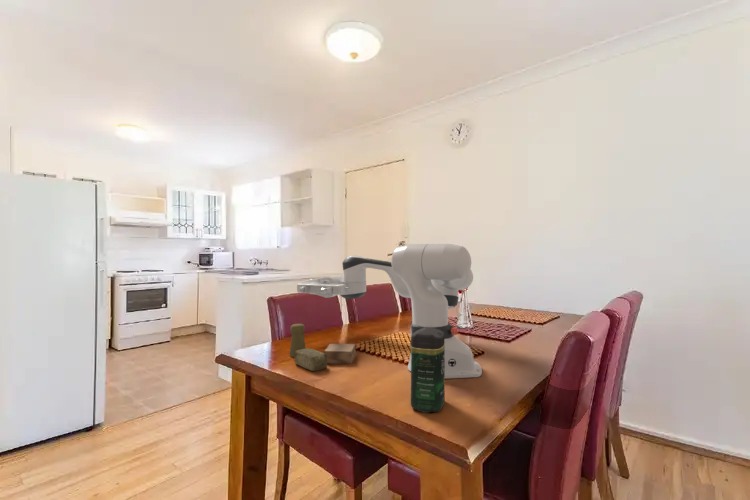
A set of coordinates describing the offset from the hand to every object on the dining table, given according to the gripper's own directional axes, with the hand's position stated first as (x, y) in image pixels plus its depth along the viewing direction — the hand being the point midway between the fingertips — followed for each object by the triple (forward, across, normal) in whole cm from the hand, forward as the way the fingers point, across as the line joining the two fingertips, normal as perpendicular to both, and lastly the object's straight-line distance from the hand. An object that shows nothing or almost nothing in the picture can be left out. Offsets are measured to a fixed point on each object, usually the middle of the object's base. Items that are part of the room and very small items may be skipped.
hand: (311, 290), depth 144 cm
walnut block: (+12, -18, -21) cm, 30 cm away
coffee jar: (+37, -54, -22) cm, 69 cm away
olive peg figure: (+12, -2, -22) cm, 25 cm away
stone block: (+21, -12, -22) cm, 33 cm away
